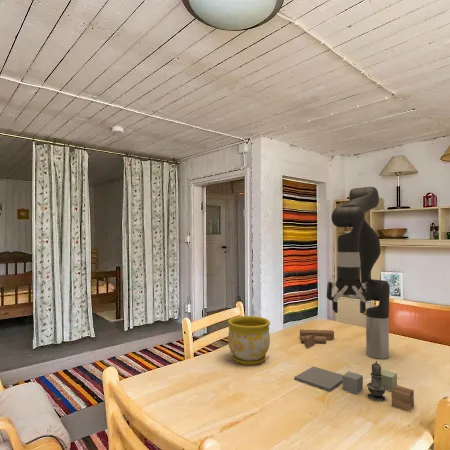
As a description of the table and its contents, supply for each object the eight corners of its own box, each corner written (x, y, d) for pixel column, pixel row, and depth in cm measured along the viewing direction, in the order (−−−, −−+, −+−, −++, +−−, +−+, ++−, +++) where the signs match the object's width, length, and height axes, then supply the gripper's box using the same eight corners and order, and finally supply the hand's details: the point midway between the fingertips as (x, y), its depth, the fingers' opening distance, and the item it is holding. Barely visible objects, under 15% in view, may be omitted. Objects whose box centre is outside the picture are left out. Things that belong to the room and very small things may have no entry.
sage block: (382, 383, 124) (382, 369, 125) (397, 387, 121) (396, 373, 121) (377, 387, 121) (377, 373, 121) (392, 392, 117) (392, 377, 117)
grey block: (348, 385, 123) (348, 371, 123) (362, 389, 119) (362, 375, 119) (342, 390, 119) (342, 375, 119) (356, 394, 116) (356, 379, 116)
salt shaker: (388, 402, 110) (388, 364, 110) (368, 400, 111) (368, 363, 112) (383, 394, 116) (383, 358, 116) (365, 392, 117) (365, 356, 117)
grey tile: (313, 368, 137) (313, 366, 137) (347, 379, 128) (347, 376, 128) (294, 379, 127) (294, 376, 127) (329, 391, 118) (329, 388, 118)
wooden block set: (297, 327, 178) (332, 327, 178) (297, 338, 178) (332, 338, 178) (304, 337, 161) (343, 337, 161) (304, 349, 161) (343, 349, 161)
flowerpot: (221, 363, 142) (221, 323, 143) (236, 350, 159) (236, 314, 159) (263, 370, 136) (263, 328, 136) (274, 355, 152) (274, 318, 153)
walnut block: (396, 400, 112) (396, 385, 112) (413, 406, 108) (413, 389, 108) (391, 406, 108) (391, 390, 108) (409, 412, 105) (408, 395, 105)
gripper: (366, 264, 121) (367, 310, 121) (325, 263, 122) (325, 309, 122) (373, 266, 113) (374, 315, 113) (329, 266, 115) (329, 314, 115)
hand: (348, 312), depth 118 cm, fingers open, 8 cm apart
